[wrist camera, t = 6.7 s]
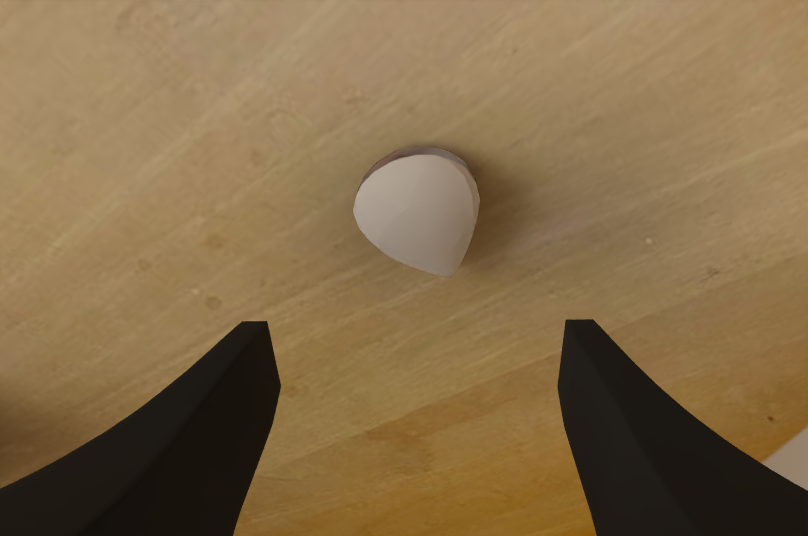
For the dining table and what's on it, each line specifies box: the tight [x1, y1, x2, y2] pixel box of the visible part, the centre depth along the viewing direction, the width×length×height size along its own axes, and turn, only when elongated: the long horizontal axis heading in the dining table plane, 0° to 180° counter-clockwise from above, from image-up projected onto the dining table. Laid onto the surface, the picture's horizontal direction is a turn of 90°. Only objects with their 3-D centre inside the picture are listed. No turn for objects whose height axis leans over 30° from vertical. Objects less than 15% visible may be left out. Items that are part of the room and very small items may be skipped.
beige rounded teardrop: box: [353, 147, 480, 278], centre depth 19 cm, size 4×5×2 cm
